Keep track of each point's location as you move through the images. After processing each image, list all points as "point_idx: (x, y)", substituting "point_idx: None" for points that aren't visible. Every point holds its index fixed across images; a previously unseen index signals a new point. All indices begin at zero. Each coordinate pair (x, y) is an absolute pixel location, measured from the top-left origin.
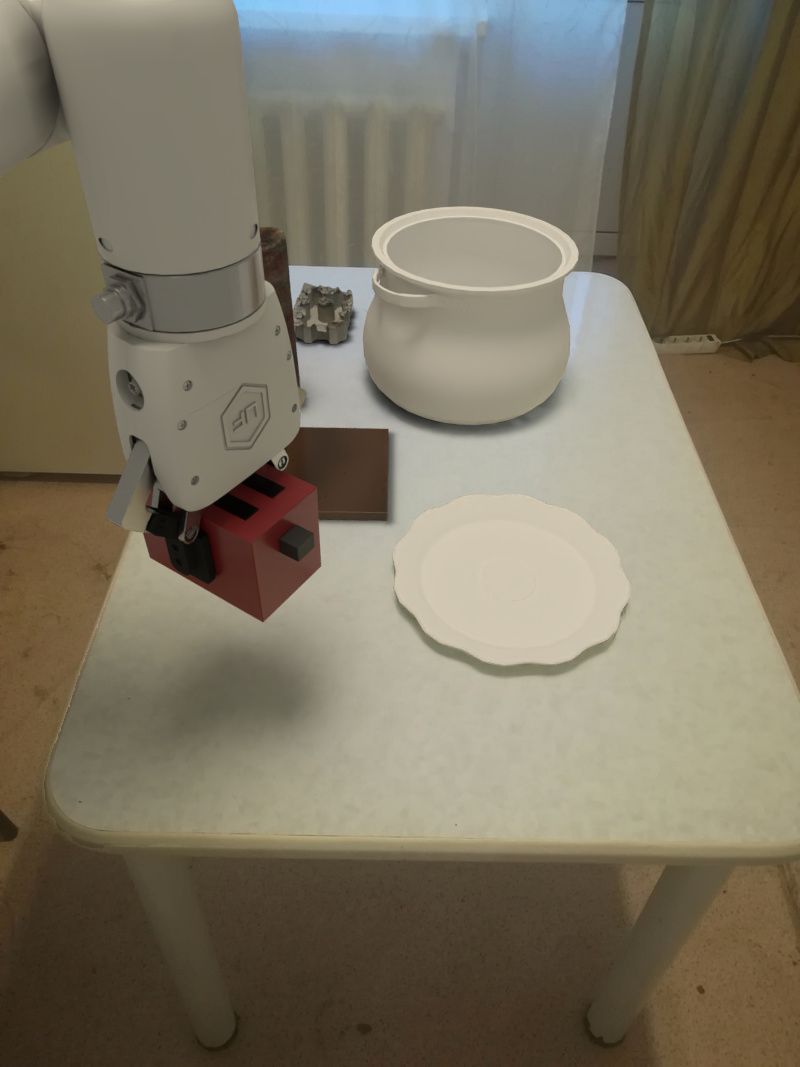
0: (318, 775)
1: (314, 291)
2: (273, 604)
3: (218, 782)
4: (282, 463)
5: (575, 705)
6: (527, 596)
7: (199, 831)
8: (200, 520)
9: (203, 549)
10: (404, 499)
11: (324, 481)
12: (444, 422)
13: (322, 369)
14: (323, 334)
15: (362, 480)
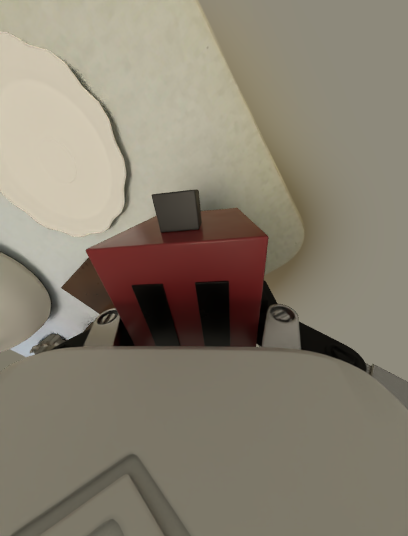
0: (231, 161)
1: None
2: (222, 210)
3: (260, 202)
4: (109, 315)
5: (76, 30)
6: (52, 140)
7: (285, 189)
8: (265, 322)
9: (262, 289)
10: (81, 252)
11: None
12: (29, 271)
13: (72, 328)
14: (59, 341)
15: (92, 274)
